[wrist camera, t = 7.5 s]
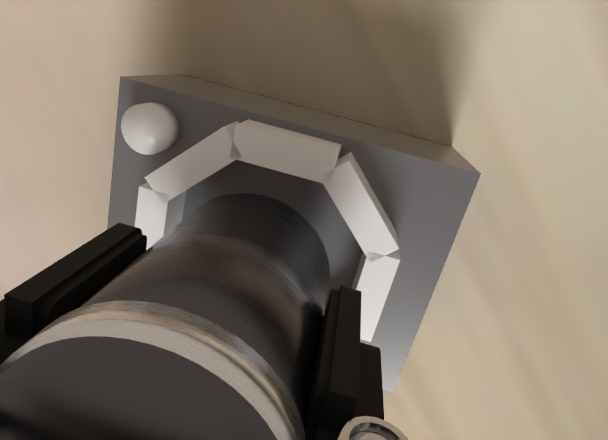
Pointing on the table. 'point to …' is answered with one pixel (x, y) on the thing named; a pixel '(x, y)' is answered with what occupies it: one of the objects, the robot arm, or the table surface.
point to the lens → (184, 337)
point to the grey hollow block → (299, 189)
